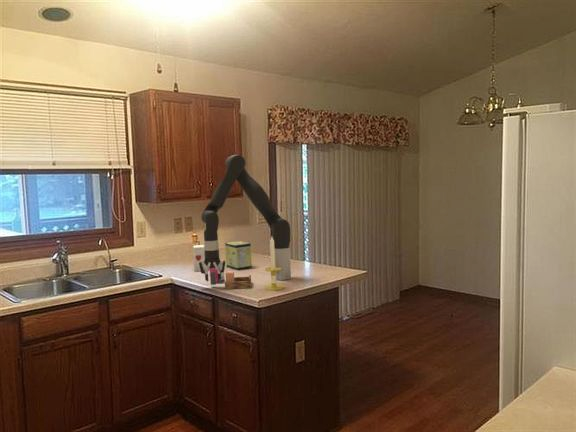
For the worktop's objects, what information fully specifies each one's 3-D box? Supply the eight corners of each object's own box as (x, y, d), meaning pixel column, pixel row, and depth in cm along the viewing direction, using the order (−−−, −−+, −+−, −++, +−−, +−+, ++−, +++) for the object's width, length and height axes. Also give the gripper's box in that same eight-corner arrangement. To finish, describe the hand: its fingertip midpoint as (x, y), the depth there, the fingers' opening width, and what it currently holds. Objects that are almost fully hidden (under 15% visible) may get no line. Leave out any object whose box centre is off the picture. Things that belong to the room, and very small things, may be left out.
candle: (287, 287, 253) (285, 235, 250) (271, 291, 247) (268, 237, 245) (276, 284, 261) (274, 233, 258) (260, 287, 255) (258, 235, 253)
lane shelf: (251, 282, 267) (250, 274, 267) (250, 288, 255) (250, 279, 255) (227, 284, 267) (226, 275, 266) (225, 289, 255) (224, 280, 254)
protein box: (240, 264, 321) (239, 240, 320) (252, 268, 308) (251, 243, 307) (225, 267, 315) (224, 242, 314) (237, 270, 302) (236, 245, 301)
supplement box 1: (194, 271, 305) (193, 247, 303) (194, 268, 313) (192, 245, 312) (209, 270, 306) (208, 246, 305) (208, 267, 315) (207, 244, 314)
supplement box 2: (217, 279, 280) (216, 259, 279) (224, 280, 276) (223, 260, 275) (209, 281, 275) (208, 260, 274) (217, 282, 271) (216, 261, 270)
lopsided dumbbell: (234, 282, 263) (233, 270, 263) (233, 284, 258) (233, 272, 258) (211, 283, 263) (211, 271, 262) (210, 285, 258) (210, 273, 257)
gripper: (226, 247, 263) (227, 278, 264) (198, 248, 262) (200, 280, 264) (224, 249, 255) (226, 281, 257) (196, 250, 255) (198, 283, 256)
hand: (213, 280), depth 260 cm, fingers open, 5 cm apart
